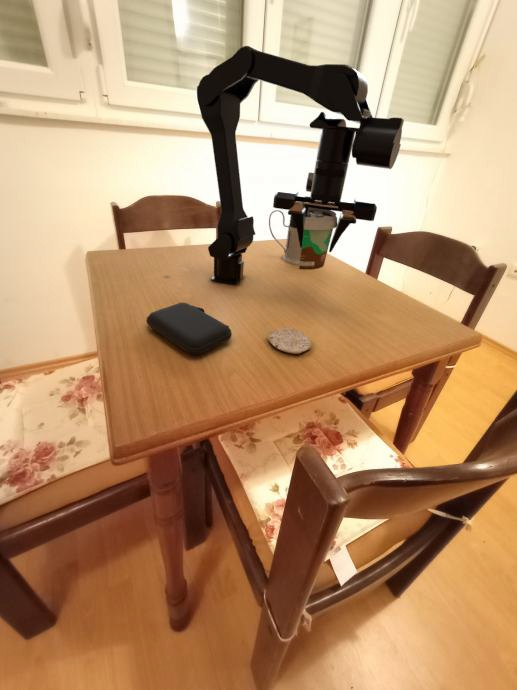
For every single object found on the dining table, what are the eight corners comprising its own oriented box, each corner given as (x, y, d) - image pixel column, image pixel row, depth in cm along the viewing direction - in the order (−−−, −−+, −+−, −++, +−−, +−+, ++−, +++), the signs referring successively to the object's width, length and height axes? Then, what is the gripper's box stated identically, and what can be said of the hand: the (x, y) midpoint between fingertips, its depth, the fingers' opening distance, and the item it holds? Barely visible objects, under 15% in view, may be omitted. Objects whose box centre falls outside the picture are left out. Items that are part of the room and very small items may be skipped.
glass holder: (312, 265, 93) (322, 212, 84) (265, 261, 92) (270, 207, 84) (309, 256, 100) (318, 206, 92) (265, 252, 100) (270, 201, 91)
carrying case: (240, 338, 56) (189, 309, 64) (241, 324, 55) (189, 295, 62) (193, 362, 50) (142, 326, 57) (193, 347, 48) (140, 312, 55)
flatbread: (262, 334, 58) (262, 329, 58) (297, 328, 61) (298, 324, 60) (280, 359, 52) (281, 354, 52) (319, 352, 55) (320, 347, 54)
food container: (330, 275, 60) (340, 220, 54) (298, 271, 61) (305, 217, 55) (329, 256, 70) (338, 208, 65) (302, 253, 71) (308, 205, 65)
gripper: (381, 165, 60) (359, 245, 69) (286, 154, 63) (277, 233, 72) (388, 169, 51) (362, 261, 60) (277, 156, 54) (268, 246, 63)
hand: (315, 249), depth 64 cm, fingers closed on food container, 5 cm apart
